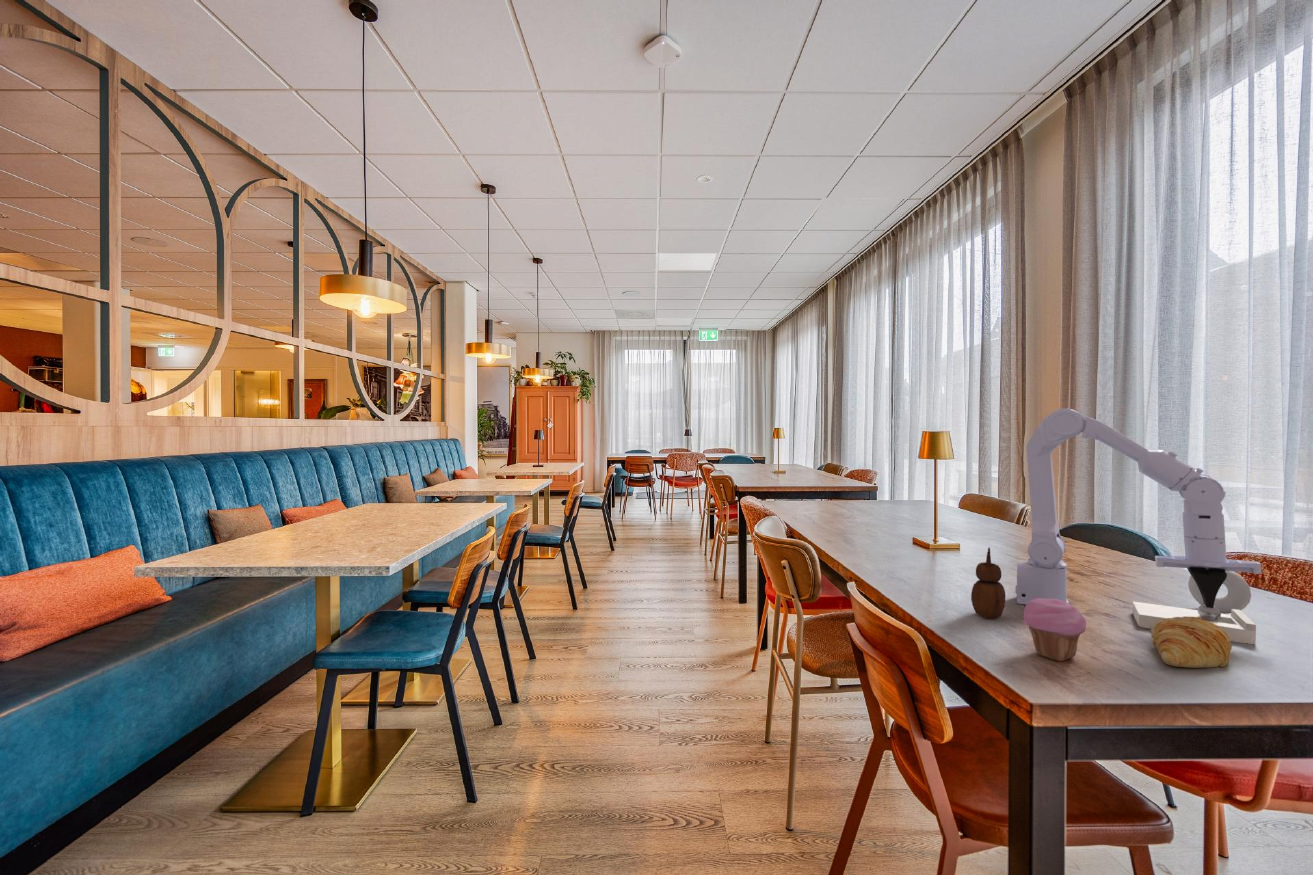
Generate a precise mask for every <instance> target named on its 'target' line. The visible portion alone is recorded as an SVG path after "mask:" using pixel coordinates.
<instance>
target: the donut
mask: <svg viewBox="0 0 1313 875" xmlns="http://www.w3.org/2000/svg"><path fill="white" fill-rule="evenodd" d="M1225 572H1226V573H1227V578H1226V580H1225V581H1224V582H1223V584H1222V585H1224V586H1225V587H1226V589H1227V594H1226V595H1225V596H1223V597H1221V596H1217V595H1216V598H1215V602H1214V606H1216V607H1217V608H1218V609H1219V610H1220V612H1221V613H1222V614H1229V615H1230V614H1231V609H1237V610H1241V611H1242V610H1244V609H1246V608H1247V607H1248V605H1249V604H1250V602H1251V598H1252V593H1251V588H1250V585H1249V584H1248V583H1247V580H1246V579H1244V578H1243V577H1242V575H1240V574H1239V573H1238V572H1236V571H1225ZM1187 583H1188V584H1187V585H1188V589H1189V592H1190V594H1191V596H1192V598H1193V599H1194V600H1195V601H1196V602H1197V603H1198V604H1199V606H1200V605H1202V604H1204V602H1203V598H1202V595H1201V593H1200V590H1199V588H1198V586H1197V584H1196V582H1195V581H1194V579H1193V577H1192V576H1191V575H1190V576H1189V578H1188V582H1187Z"/></svg>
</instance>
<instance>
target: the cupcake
mask: <svg viewBox="0 0 1313 875" xmlns="http://www.w3.org/2000/svg"><path fill="white" fill-rule="evenodd" d="M1082 614H1083V613H1082V612H1081V611H1080V610H1079V609H1077V607H1075V606H1074V605H1072V604H1071V603H1067V602H1065V601H1062V600H1058V599H1044V598H1038V599H1033V600H1031V601H1029V602H1028V603H1027V605H1025V607H1024V608H1023V620H1024V622H1025V625H1027V626H1028V629H1029V632H1030V634H1031V637H1032V641H1033V646H1034V650H1035V651H1036V653H1037V654H1039V655H1040V656H1043V657H1046V658H1048V659H1050V660H1055V661H1056V662H1064V661H1066V660H1070V659H1072V658H1074V657H1075V656H1076V655H1077V651H1078V642H1079V638H1080V635H1082V634H1083V633H1085V632H1086V629H1087V622H1086V618H1085V617H1084V616H1083V615H1082Z"/></svg>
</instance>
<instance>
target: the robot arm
mask: <svg viewBox="0 0 1313 875" xmlns="http://www.w3.org/2000/svg"><path fill="white" fill-rule="evenodd" d="M1081 433H1082V434H1081ZM1080 434H1081V436H1080V438H1084V439H1090V440H1096V441H1100V442H1101V443H1103V444H1104V445H1106V446H1108V447H1110V448H1112V449H1114V450H1116V451H1117V452H1119V453H1120V454H1123V455H1124V456H1126V457H1128V458H1129V459H1131V460H1133V461H1134V462H1137V466H1138V472H1140V473H1141V474H1143V475H1144V476H1146V477H1148V478H1150V479H1151V480H1153V481H1154V482H1157V483H1158V484H1160V485H1161V486H1163V487H1164V488H1166V489H1168V490H1169V491H1171V492H1178V493H1179V495H1180V496H1181V497H1182V499H1184V500H1183V512H1182V527H1183V543H1184V556H1182V555H1154V561H1155V562H1154V564H1155V566H1156V567H1157V568H1178V569H1179V568H1180V569H1182V568H1183V569H1186V570H1187V571H1188V573H1189V574H1190V576H1192V577H1193V579H1194V581H1195V582H1196V584H1197V586H1198V588H1199V590H1200V593H1201V595H1202V598H1203V602H1204V604H1205V605H1206V607H1207V608H1214V602H1215V598H1216V596H1217V595H1218V592H1219V590H1220V588H1221V587H1222V586H1223V585H1224V584H1223V582H1224V581H1225V580H1226V578H1227V573H1226V572H1225V571H1234V572H1236V573H1238V572H1239V573H1252V574H1257V575H1259V574H1260V575H1262V573H1263V571H1262V563H1260V562H1259V561H1253V560H1250V561H1249V560H1243V559H1242V560H1241V559H1229V558H1227V547H1226V531H1225V517H1224V516H1225V515H1224V513H1223V510H1224V508H1223V506H1224V505H1223V504H1222V502H1223V500H1225V498H1226V497H1225V496H1226V491H1225V490H1224V487H1223V486H1222V484H1221V483H1220V482H1218V480H1215V478H1212V477H1211V476H1210V475H1207V474H1203V472H1204V470H1203V469H1202V468H1200V467H1196V468H1195V467H1193V466H1191V465H1189V464H1188V463H1186V462H1184V461H1182V460H1181V459H1179V458H1177V457H1178V454H1176V453H1175V452H1173V451H1172V450H1169V452H1167V451H1165V450H1163V449H1156V450H1155V449H1154V450H1149V449H1147V448H1145V447H1144V446H1142V445H1141V444H1140V443H1137V442H1136V441H1134V440H1133V439H1131V438H1129V437H1127V436H1126V435H1124V434H1122V433H1121V432H1120V431H1119V430H1116V429H1114V428H1113V427H1111V426H1109V425H1108V424H1106V423H1104V422H1103V421H1100V420H1098V419H1095V418H1092V417H1090V416H1088V415H1082V414H1081V413H1080V412H1078V411H1076V410H1075V409H1071V408H1060V409H1057V410H1054V411H1053V412H1052V413H1050V414H1048V415H1047V416H1046V417H1044V418H1042V420H1041V422H1040V424H1039V425H1038V427H1037V428H1036V430H1035V431H1034V432H1033V434H1032V435H1031V437H1030V438H1029V439H1028V441H1027V443H1026V458H1027V459H1026V460H1027V470H1028V473H1027V474H1028V483H1029V484H1028V485H1029V494H1030V495H1029V498H1030V506H1031V507H1030V508H1031V510H1030V511H1031V523H1032V524H1031V541H1030V543H1029V544H1028V547H1027V554H1028V556H1029V558H1028V559H1027V561H1025V562H1024V561H1017V564H1016V585H1015V594H1016V604H1019V605H1025V606H1026V605H1027V603H1028V602H1029V601H1031V600H1033V599H1038V598H1044V599H1058V600H1062V601H1065V602H1067V603H1069V600H1068V599H1067V598H1068V596H1067V595H1068V593H1067V591H1068V590H1067V586H1068V585H1067V584H1068V583H1067V582H1068V581H1067V579H1068V578H1067V576H1068V574H1067V573H1068V572H1067V569H1068V565H1067V563H1065V562H1064V561H1063V557H1064V556H1063V555H1064V554H1065V552H1066V549H1067V548H1066V547H1067V546H1066V542H1065V540H1064V539H1063V538H1062V536H1061V533H1060V527H1059V523H1058V515H1057V514H1058V513H1057V511H1058V510H1057V500H1056V488H1055V476H1054V464H1053V462H1054V461H1053V451H1055V450H1057V448H1058V447H1060V446H1061V445H1062V444H1063V443H1064V442H1065V441H1067V440H1069V439H1072V438H1074V437H1076V436H1079V435H1080ZM1069 604H1070V603H1069Z"/></svg>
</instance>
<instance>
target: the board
mask: <svg viewBox="0 0 1313 875" xmlns="http://www.w3.org/2000/svg"><path fill="white" fill-rule="evenodd" d="M1132 615H1133V616H1134V619H1135V621H1136V624H1137V626H1138V628H1145V629H1150V630H1151V629H1152V627H1153V626H1154V625H1156V624H1157V623H1158V622H1160V621H1162V620H1165V619H1167V618H1174V617H1184V616H1187V617H1198V618H1202V617H1201V616H1200V615H1199V614H1198V609H1191V608H1185V607H1176V606H1171V605H1170V606H1169V605H1163V604H1155V603H1154V604H1153V603H1147V602H1140V601H1132ZM1202 619H1203V618H1202ZM1209 622H1211V623H1213V624H1215V625H1217V626H1218V627H1220V628H1222V629H1223V630H1224V631H1225V632H1226V633H1227V635H1228V636H1229V639H1230V641H1231V642H1234V641H1235V642H1234V643H1240V644H1246V643H1248V644H1247V645H1253V644H1254V646H1256V645H1257V644H1256V643H1257V642H1256V639H1257V638H1256V636H1257V633H1256V632H1257V631H1256V630H1257V629H1256V628H1257V624H1256V623H1255V622H1253V621H1252V620H1251V619H1250V617H1248V616H1247V615H1246V614H1245V613H1244V612H1243V611H1242V610H1237V609H1231V613H1229V614H1226V613H1221V617H1220V618H1219V619H1218V620H1215V621H1209Z"/></svg>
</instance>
